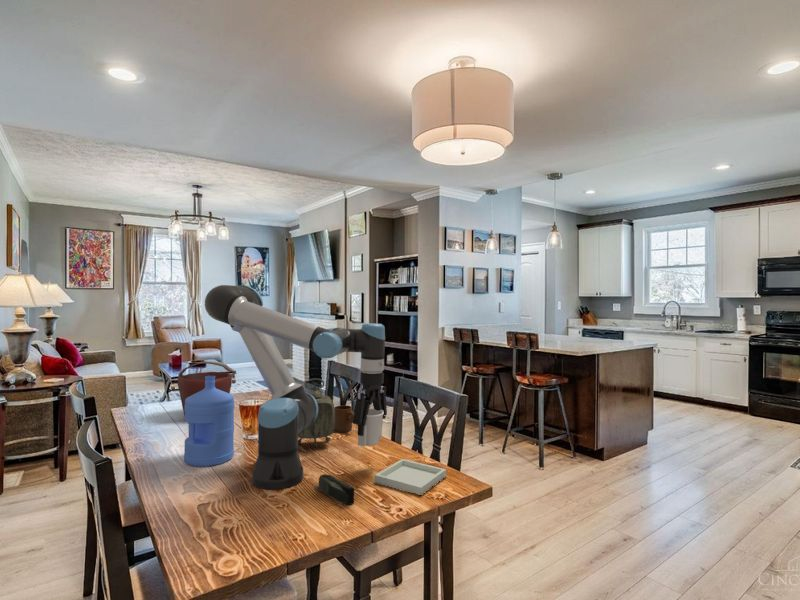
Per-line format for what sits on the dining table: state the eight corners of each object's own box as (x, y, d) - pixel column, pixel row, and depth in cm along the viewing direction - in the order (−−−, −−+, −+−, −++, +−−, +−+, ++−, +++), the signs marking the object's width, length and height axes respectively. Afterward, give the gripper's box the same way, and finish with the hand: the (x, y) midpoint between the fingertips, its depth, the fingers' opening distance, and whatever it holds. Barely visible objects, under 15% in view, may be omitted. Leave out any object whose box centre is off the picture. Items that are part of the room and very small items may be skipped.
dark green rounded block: (356, 486, 122) (321, 469, 131) (348, 489, 119) (313, 472, 129) (355, 504, 122) (320, 486, 132) (347, 508, 119) (312, 489, 129)
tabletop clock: (331, 439, 174) (332, 375, 174) (335, 447, 165) (336, 379, 165) (293, 443, 170) (294, 377, 169) (295, 451, 161) (296, 381, 161)
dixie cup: (382, 438, 149) (383, 408, 149) (382, 447, 141) (383, 415, 141) (357, 438, 149) (358, 408, 149) (356, 446, 141) (357, 415, 141)
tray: (421, 496, 126) (421, 487, 126) (374, 483, 135) (374, 475, 135) (446, 477, 140) (446, 469, 140) (402, 466, 148) (402, 458, 148)
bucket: (243, 412, 212) (244, 359, 212) (214, 426, 190) (214, 367, 190) (198, 409, 217) (198, 357, 217) (164, 421, 196) (165, 364, 196)
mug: (361, 433, 183) (362, 410, 183) (346, 436, 178) (346, 412, 178) (345, 426, 192) (345, 404, 192) (330, 429, 188) (330, 406, 187)
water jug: (216, 447, 164) (217, 371, 163) (243, 457, 154) (244, 376, 154) (174, 460, 151) (175, 377, 150) (200, 471, 142) (201, 382, 141)
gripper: (362, 377, 134) (359, 453, 134) (399, 368, 152) (396, 435, 152) (342, 374, 138) (340, 448, 138) (380, 366, 156) (378, 431, 156)
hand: (369, 441), depth 145 cm, fingers closed on dixie cup, 8 cm apart
